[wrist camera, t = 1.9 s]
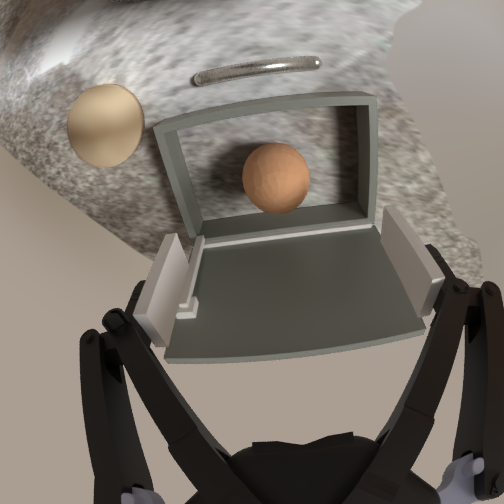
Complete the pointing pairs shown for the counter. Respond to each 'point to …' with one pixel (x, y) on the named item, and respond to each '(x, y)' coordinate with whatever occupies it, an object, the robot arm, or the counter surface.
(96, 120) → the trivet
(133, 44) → the counter surface
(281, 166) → the egg
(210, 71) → the rod
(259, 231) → the grey hinged box
